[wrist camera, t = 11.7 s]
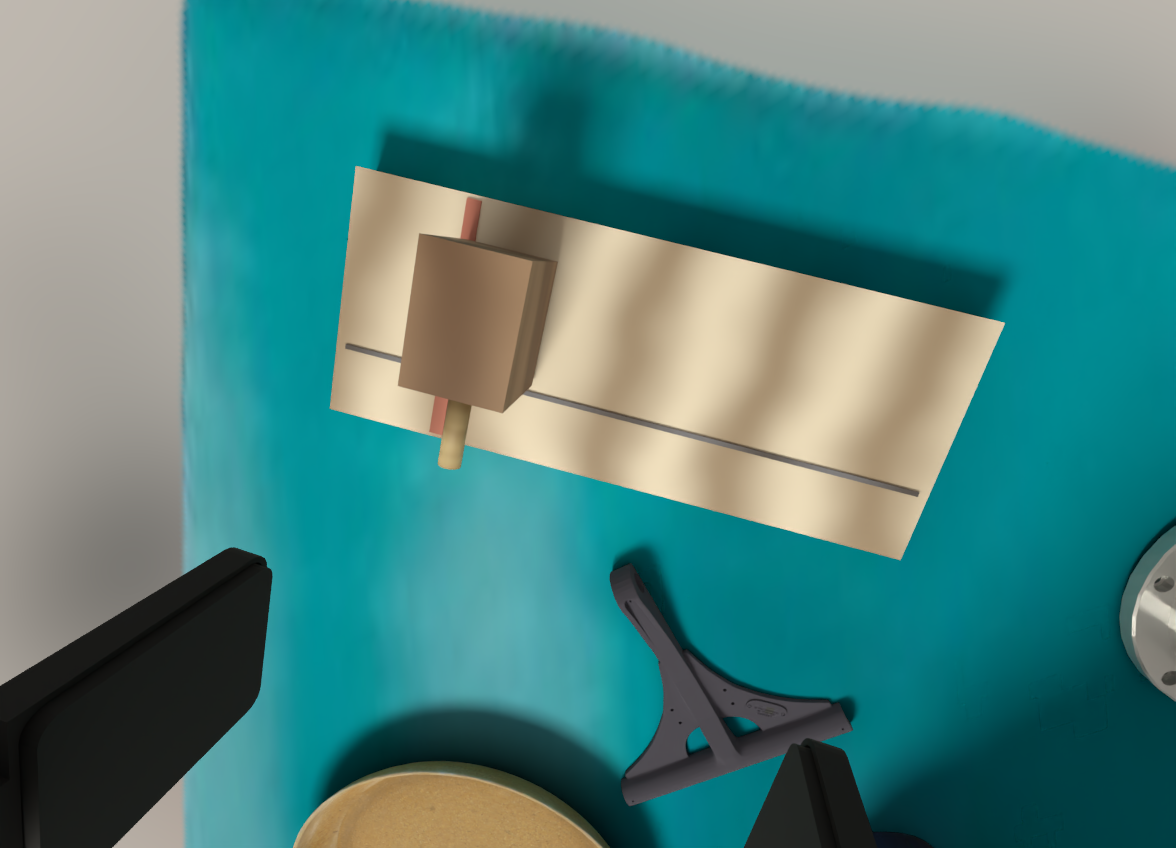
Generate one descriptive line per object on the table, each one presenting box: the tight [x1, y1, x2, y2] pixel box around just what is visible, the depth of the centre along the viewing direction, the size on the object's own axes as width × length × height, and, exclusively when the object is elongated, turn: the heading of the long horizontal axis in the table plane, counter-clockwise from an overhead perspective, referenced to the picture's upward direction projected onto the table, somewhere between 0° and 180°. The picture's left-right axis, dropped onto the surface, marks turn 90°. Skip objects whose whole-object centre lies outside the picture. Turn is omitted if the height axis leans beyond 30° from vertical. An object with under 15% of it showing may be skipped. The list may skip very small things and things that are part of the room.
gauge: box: [398, 233, 558, 469], centre depth 26 cm, size 4×9×6 cm, turn 167°
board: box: [330, 166, 1005, 560], centre depth 29 cm, size 30×12×2 cm, turn 77°
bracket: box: [610, 563, 853, 806], centre depth 34 cm, size 14×15×3 cm
